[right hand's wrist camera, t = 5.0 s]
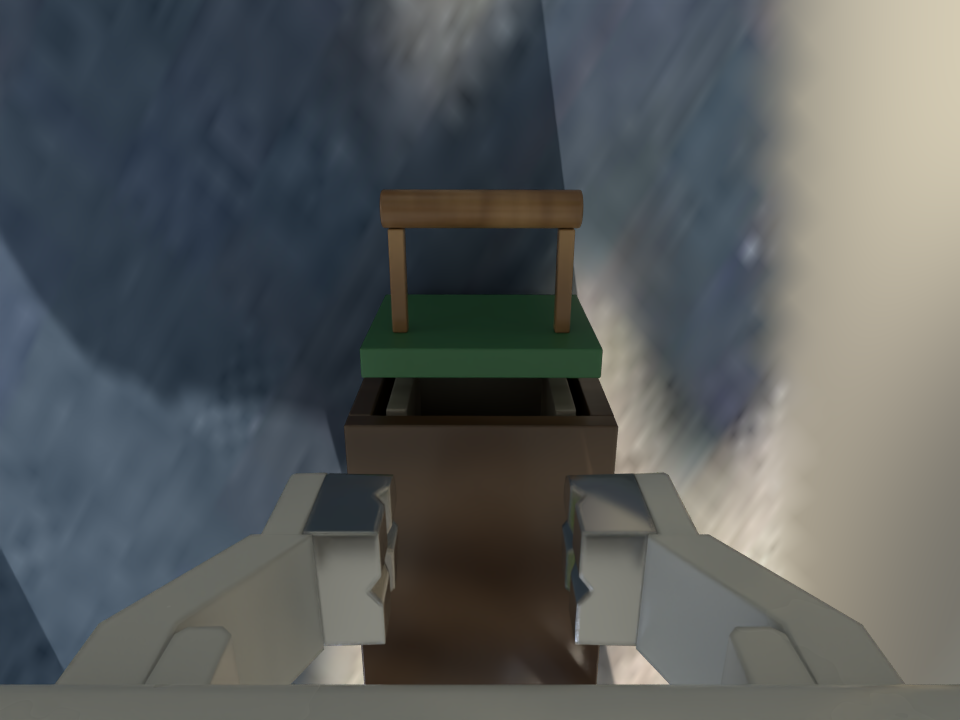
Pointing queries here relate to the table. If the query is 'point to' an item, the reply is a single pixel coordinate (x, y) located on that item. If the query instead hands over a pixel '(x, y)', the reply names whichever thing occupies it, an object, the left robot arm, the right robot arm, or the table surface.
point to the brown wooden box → (480, 538)
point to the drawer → (481, 316)
